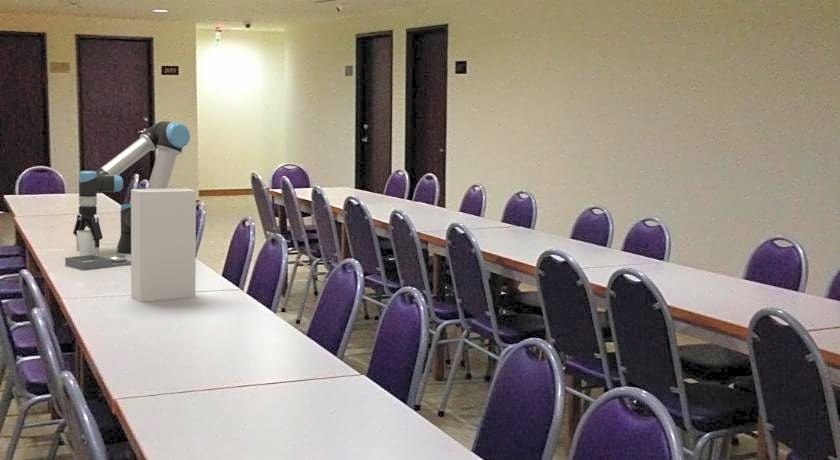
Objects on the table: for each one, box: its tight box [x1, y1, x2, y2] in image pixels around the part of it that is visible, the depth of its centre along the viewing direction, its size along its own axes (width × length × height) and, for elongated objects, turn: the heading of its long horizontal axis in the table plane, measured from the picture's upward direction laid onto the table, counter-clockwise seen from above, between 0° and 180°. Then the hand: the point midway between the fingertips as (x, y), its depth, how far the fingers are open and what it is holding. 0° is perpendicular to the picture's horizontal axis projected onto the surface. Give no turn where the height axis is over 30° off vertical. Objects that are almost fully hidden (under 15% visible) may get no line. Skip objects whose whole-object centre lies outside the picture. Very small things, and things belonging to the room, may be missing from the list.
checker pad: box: [104, 254, 126, 262], centre depth 423 cm, size 9×9×2 cm
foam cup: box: [76, 229, 94, 256], centre depth 429 cm, size 10×9×13 cm
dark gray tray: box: [64, 255, 131, 271], centre depth 418 cm, size 25×15×4 cm, turn 140°
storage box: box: [130, 187, 197, 303], centre depth 353 cm, size 21×10×40 cm, turn 124°
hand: (87, 252), depth 430 cm, fingers open, 13 cm apart
